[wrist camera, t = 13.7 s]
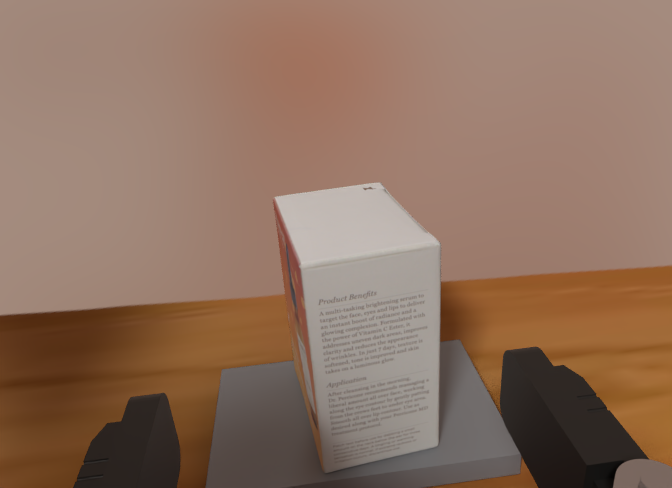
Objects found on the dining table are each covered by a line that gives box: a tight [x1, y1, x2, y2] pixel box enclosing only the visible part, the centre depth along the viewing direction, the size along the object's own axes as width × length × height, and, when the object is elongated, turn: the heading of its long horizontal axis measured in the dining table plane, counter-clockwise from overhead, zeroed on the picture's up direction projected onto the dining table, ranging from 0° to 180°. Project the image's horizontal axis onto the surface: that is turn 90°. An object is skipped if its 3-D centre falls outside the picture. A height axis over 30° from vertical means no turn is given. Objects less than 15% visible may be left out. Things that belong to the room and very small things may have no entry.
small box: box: [273, 183, 441, 473], centre depth 26 cm, size 8×6×10 cm
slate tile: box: [206, 339, 521, 488], centre depth 28 cm, size 14×9×1 cm, turn 96°
